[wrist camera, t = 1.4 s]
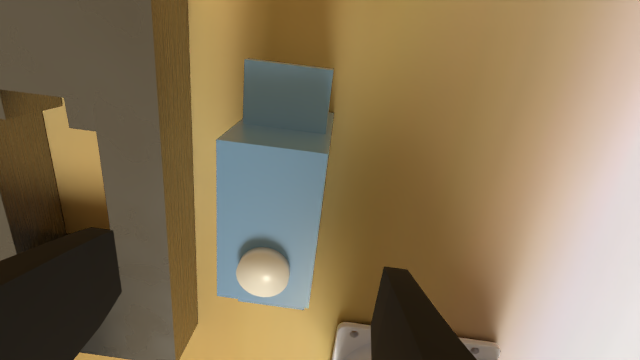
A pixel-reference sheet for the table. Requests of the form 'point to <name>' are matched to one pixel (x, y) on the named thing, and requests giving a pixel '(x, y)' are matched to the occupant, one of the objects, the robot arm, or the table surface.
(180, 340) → the chassis
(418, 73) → the table surface
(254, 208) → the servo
